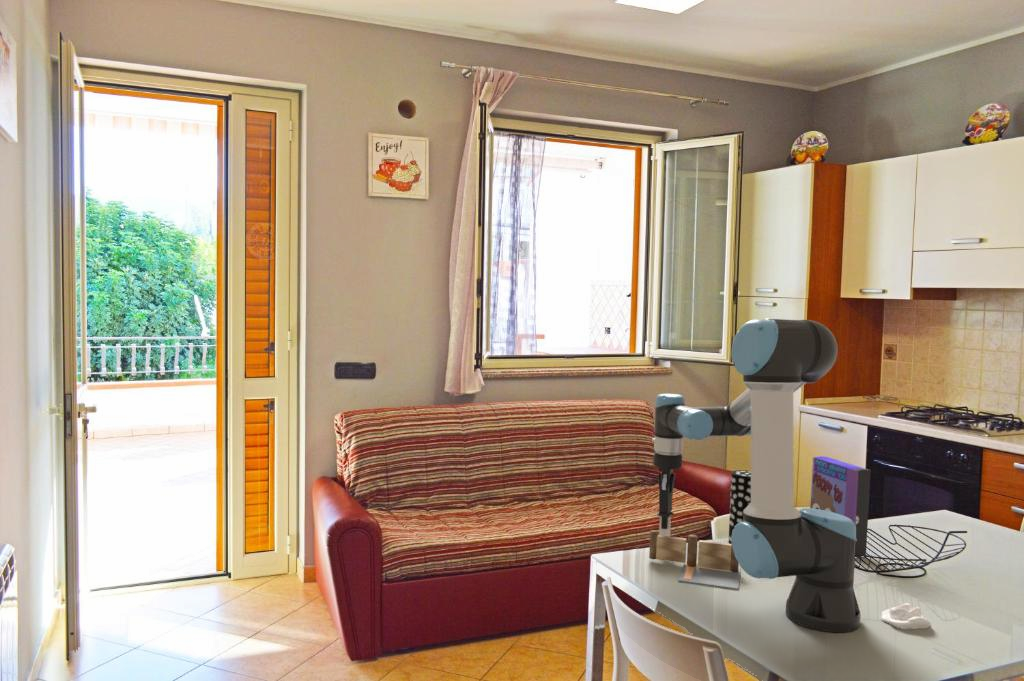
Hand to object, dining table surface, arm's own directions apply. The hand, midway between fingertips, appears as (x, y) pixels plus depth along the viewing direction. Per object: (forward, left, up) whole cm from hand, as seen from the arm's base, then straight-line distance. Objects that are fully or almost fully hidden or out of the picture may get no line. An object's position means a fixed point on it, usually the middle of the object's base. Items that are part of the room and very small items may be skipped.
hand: (664, 539), depth 211 cm
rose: (-49, -35, -4) cm, 61 cm away
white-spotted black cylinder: (+6, -26, -4) cm, 27 cm away
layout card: (-17, -5, -4) cm, 18 cm away
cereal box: (0, -51, -4) cm, 51 cm away
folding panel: (-7, +2, -3) cm, 8 cm away
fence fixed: (-13, -8, -4) cm, 16 cm away
